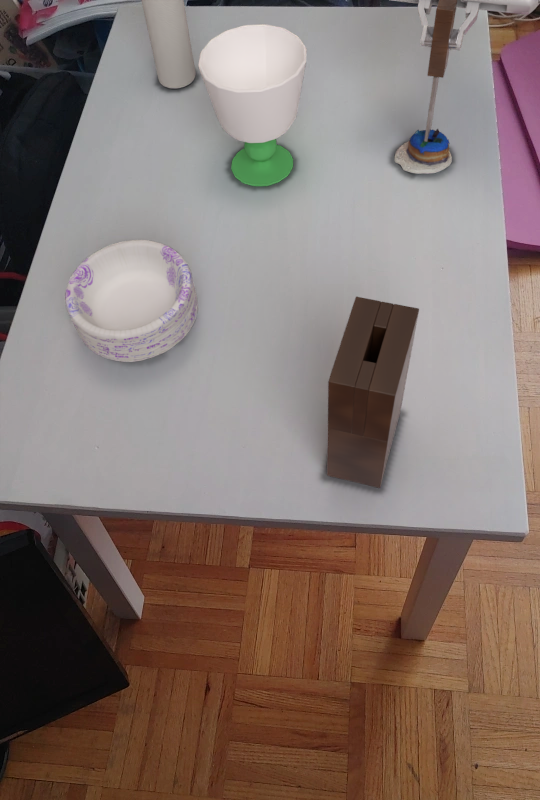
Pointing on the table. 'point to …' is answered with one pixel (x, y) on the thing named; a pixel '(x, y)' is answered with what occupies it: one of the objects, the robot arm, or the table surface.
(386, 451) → the knife block
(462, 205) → the table surface
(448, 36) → the knife
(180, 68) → the paper towel roll
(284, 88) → the cup
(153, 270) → the paper bowls
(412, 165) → the dessert
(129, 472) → the table surface
